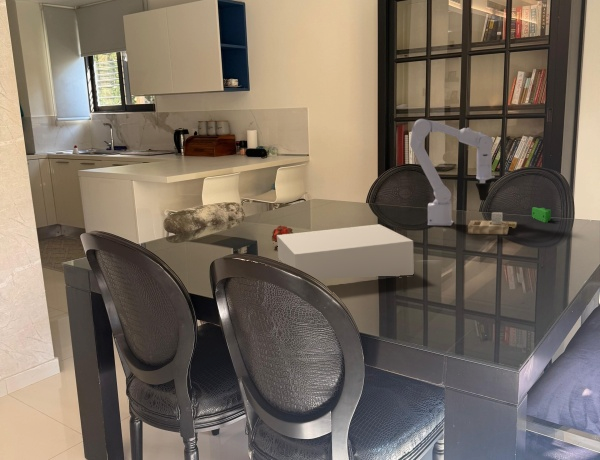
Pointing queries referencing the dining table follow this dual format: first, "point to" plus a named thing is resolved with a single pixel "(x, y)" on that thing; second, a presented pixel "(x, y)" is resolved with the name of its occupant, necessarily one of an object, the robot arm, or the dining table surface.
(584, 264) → the dining table surface
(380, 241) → the box
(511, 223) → the tan rectangular block
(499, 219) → the square bit
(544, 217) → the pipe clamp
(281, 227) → the dragon fruit
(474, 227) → the socket block
